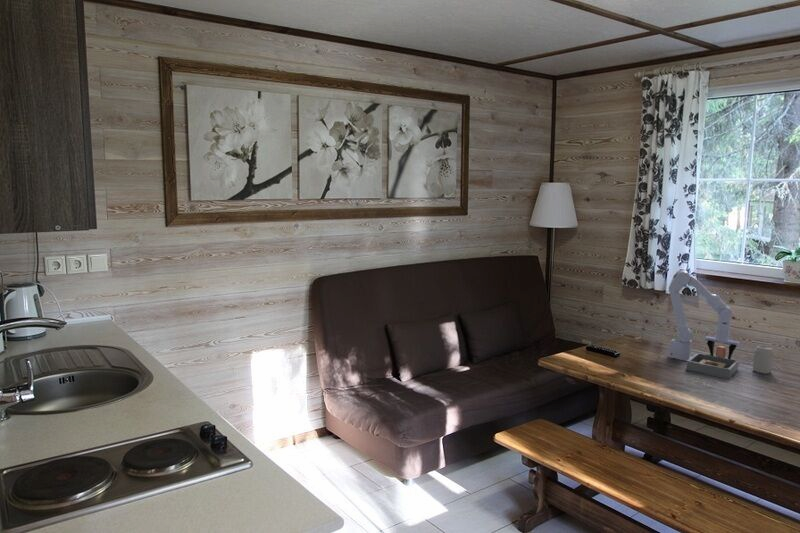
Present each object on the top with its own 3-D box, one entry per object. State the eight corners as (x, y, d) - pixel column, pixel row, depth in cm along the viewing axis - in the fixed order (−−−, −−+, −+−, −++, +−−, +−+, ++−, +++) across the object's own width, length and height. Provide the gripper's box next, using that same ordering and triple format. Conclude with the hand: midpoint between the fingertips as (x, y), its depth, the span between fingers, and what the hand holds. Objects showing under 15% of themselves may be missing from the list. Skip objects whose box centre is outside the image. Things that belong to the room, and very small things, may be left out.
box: (686, 370, 278) (687, 360, 277) (696, 361, 291) (697, 352, 291) (729, 379, 266) (730, 369, 266) (737, 369, 280) (738, 360, 279)
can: (766, 369, 281) (768, 345, 279) (774, 374, 274) (777, 349, 272) (749, 368, 282) (752, 344, 280) (757, 374, 275) (760, 348, 273)
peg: (714, 362, 290) (715, 347, 289) (716, 361, 293) (717, 345, 292) (723, 364, 287) (725, 348, 286) (725, 362, 290) (726, 347, 289)
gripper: (704, 329, 289) (702, 356, 291) (738, 335, 280) (735, 362, 282) (708, 326, 295) (705, 353, 297) (741, 332, 285) (738, 359, 287)
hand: (720, 357), depth 290 cm, fingers open, 7 cm apart
